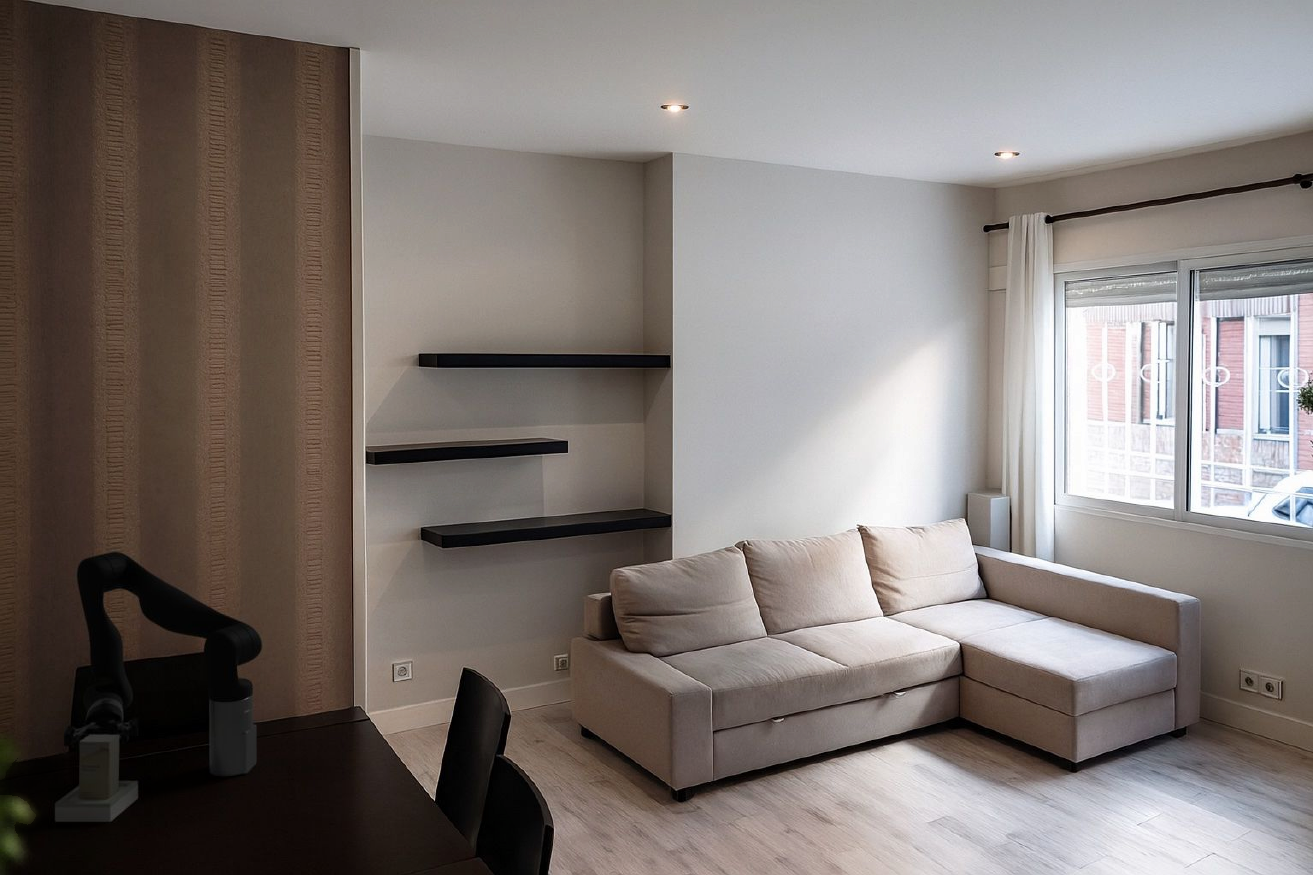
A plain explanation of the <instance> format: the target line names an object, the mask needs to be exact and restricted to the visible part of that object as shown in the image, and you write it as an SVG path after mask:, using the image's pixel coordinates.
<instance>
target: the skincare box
mask: <svg viewBox="0 0 1313 875" xmlns="http://www.w3.org/2000/svg"><path fill="white" fill-rule="evenodd" d="M78 766H79V769H78V772H79V773H78V778H79V779H78V782H79V783H78V786H79V798H81V799H109V798H110V797H111V796H112V795H114V794H115V793H116V792H117V791H118V783H119V781H120V780H119V772H120V770H119V768H120V739H119V735H106V734H103V735H96V734H90V735H89V736H87V737H86V738H84V739H83V740H81V741H80V749H79V764H78Z"/></svg>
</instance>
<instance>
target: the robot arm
mask: <svg viewBox="0 0 1313 875" xmlns="http://www.w3.org/2000/svg"><path fill="white" fill-rule="evenodd" d="M76 582H77V586H78V592H79V595H80V596H79V597H80V600H81V606H82V611H83V613H84V614H83V615H84V618H85V622H86V627H87V633H88V638H89V640H88V641H89V654H90V656H89V658H90V671H91V674H92V675H94V676H95V677H100V678H109V679H112V680H113V681H111V682H105V683H104V682H103V683H95V684H92V685H89V686H88V687H87V688H86V689H85V691H84V693H83V700H82V701H83V706H84V709H85V711H86V712H87V713H86V717H85V719H84V720H85V721H84V725H82V726H81V727H80V728H76V727H75V726H73V725H70V726H67V727H66V729H65V731H64V734H63V746H64V747H69V746H71V749H72V750H75V752H76V751H80V741H81V740H83V739H84V738H86V737H87V736H89V735H90V734H96V735H103V734H106V735H119V740H120V745H125V743H127V742H129V738H130V737H131V738H132V737H133V738H137V737H138V736H139V721H138V718H137V717H133V718H131V719H130V720H129V721H128V722H124V710H125V709H127V708H129V707H130V705H131V704H132V703H133V699H134V693H133V690H132V689H133V688H132V686H131V684H130V681H129V679H128V677H127V674H126V671H125V663H124V642H123V638H122V635H121V633H120V631H119V629H118V628H117V626H116V625H115V624H114V622H113V621H112V620H111V618H110V617H109V615H108V613H107V610H106V609H105V605H104V604H105V603H104V599H105V598H104V597H105V596H104V595H105V594H106V593H107V592H111V591H116V590H124V591H127V592H129V593H131V594H132V595H135V597H137V598H138V603H139V607H140V611H141V613H142V615H144V617H145V618H146V619H147V620H148V621H150V622H151V623H153V624H155V625H156V626H159V627H160V628H162V629H163V630H166V631H169V632H171V633H174V634H179V635H185V636H189V637H196V638H201V639H205V642H204V647H203V663H204V666H203V667H204V680H205V686H206V689H207V690H208V700H209V701H208V703H209V705H208V706H209V707H208V708H209V709H208V710H209V711H208V714H209V715H208V716H209V722H208V723H209V726H208V727H209V728H208V730H209V732H208V733H209V734H208V735H209V736H208V738H209V739H208V740H209V741H208V742H209V752H208V753H209V773H210V774H211V775H212V776H217V777H233V776H238V775H242V774H243V775H245V774H248V773H249V772H250V771H251V770H252V769H253V767H254V766H256V764H257V724H256V723H254V685H253V682H252V681H251V680H250V679H248V678H243V677H239V673H238V672H239V671H238V667H239V666H242V665H244V664H247V663H249V662H251V661H253V660H255V659H256V658H257V657H259V655H260V654H261V652H262V649H263V643H262V638H261V636H260V634H259V633H258V631H256V629H255V628H254V627H252V626H251V625H250V624H248V623H246V622H243V621H241V620H238V619H236V618H234V617H231V616H229V615H227V614H224V613H222V612H220V611H217V610H216V609H214V608H212V607H211V606H209V605H207V604H205V603H203V602H201V601H200V600H197V599H196V598H194V597H193V596H191V595H190V594H189V593H186V592H185V591H184V590H181V589H179V588H178V587H175V586H173V585H171V584H170V583H168V582H167V581H165V580H163V579H162V578H160V577H158V576H157V575H155V574H153V573H152V572H150V571H149V570H147V569H146V568H145V567H143V566H142V565H141V564H140V563H138V562H137V561H135V560H134V559H133V558H132V557H130V556H129V555H127V554H125V553H123V552H120V551H112V552H106V553H103V554H98V555H94V556H90V557H86V558H83V560H81V561H80V563H79V564H78V566H77V570H76Z"/></svg>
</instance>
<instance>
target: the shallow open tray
mask: <svg viewBox="0 0 1313 875" xmlns="http://www.w3.org/2000/svg"><path fill="white" fill-rule="evenodd" d="M138 799H139V780H119V783H118V791H117V792H116V793H115V794H114V795H112V796H111V797H110V798H109V799H81V798H79V785H78V786H75V788H74V789H72V790H71V791H69V792H68V793H67V794H65V795H64V796H62V797H61V798H60V799H58V800H57V801H56V802H55V803H54V822H57V823H58V822H59V823H62V822H63V823H64V822H65V823H66V822H67V823H69V822H70V823H111V822H112V821H113V820H114V819H115V818H116V817H118V816H119V815H120V814H121V813H123V812H124V811H125V810H126V809H127V808H128V807H130V806H131V805H132V804H133V803H134V802H136V801H137V800H138Z"/></svg>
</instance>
